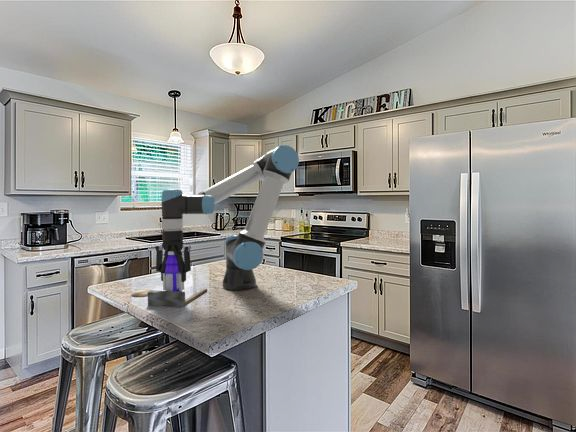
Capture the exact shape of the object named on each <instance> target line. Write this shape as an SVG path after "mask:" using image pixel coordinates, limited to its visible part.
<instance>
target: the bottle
mask: <svg viewBox="0 0 576 432" xmlns="http://www.w3.org/2000/svg"><path fill="white" fill-rule="evenodd" d="M178 254H179V253H178ZM180 273H181V272H180V269H179V265H178V262H177V259H176V257H175V255H174V251H168V257H167V261H166V268H165V278H166V290H165V291H179V274H180ZM179 292H183V290H182V291H179Z"/></svg>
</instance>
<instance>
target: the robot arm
mask: <svg viewBox="0 0 576 432" xmlns="http://www.w3.org/2000/svg"><path fill="white" fill-rule="evenodd" d="M299 163H300V157H299V155H298V152H297V150H296V149H295V148H293V147H292V146H291V145H286V144H281V145H278V146H275V147H274V148H273V149H271V150H269V151H267V152H266V153H265V154H263V155H262V156H261V157H260V158H258V159H256V160H255V161H252V164H251V165H249V166H248V167H245V168H244V169H242V170H240V171H238V172H236V173H233V174H232V175H231V176H229V177H227V178H225V179H223V180H221V181H219V182H217V183H216V184H214V185H212V186H210V187H208V188H206V189H204V190H202V191H200V192H198V193H196V194H183V190H181V189H164V190H162V192H161V225H162V226H161V229H162V230H163V231H162V233H161V235H162V237H161V238H162V243H161V244H159V245H155V247H154V248H155V252H156V256H155V258H156V259H155V271H156V272H159V273H160V280H161V282H162V291H166V278H165V268H166V261H167V257H168V251H174V255H175V257H176V259H177V262H178V265H179V269H180V272H181V273H180V274H179V291H182V292H183V290H185V282H186V281H187V273H188V272H190V271H192V265H191V252H190V251H191V245H186V244H185V243H184V230H183V227H184V226H183V225H184V224H183V223H184V222H183V217H184V216H183V215H209V214H211V215H212V214H214V212H215V205H216V204H218V203H220V202H222V201H224V200H225V199H226V200H227V198H230V197H231V196H233V195H235V194H237V193H239V192H240V191H242V190H244V189H246V188H248V187H250V186H251V185H253V184H255V183H257V182H259V181H261V182H262V183H261V185H260V188H259V191H258V194H257V196H256V198H255V201H254V204H253V206H252V209H251V212H250V214H249V217H248V219H247V222H246V225H245V227H244V229H242V230H241V231H239V232H238V235H228V236H227V237H226V238H225V266H226V268H225V271H224V272H225V273H224V276H223V279H222V288H223V289H226V290H231V291H242V290H243V291H244V290H251V289H254V288H255V287H257V279H256V276H255V273H254V271H253V270H254V269H256V268H257V267H259V266H260V264H262V261H263V260H264V251H263V249H264V248H265V244H266V240H265V235H266V234H265V233H266V231H267V229H268V226H269V224H270V221H271V218H272V216H273V213H274V212H275V208H276V205H277V203H278V200H279V197H280V195H281V192H282V190H283V187H284V185H285V184H287V183H288V182H289V181H290V179H291V176H292V173H293V172H295V171H296V169H297V168H298V166H299ZM163 250H164V251H163ZM182 250H183V252H182ZM163 252H164V253H163ZM178 253H179V254H178Z"/></svg>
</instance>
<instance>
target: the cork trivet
mask: <svg viewBox="0 0 576 432" xmlns="http://www.w3.org/2000/svg"><path fill="white" fill-rule="evenodd" d="M151 290H153V291H155V290H154V289H140V290H135V291H133V292H131V296H132V297H135V298H143V297H148V292H149V291H151Z"/></svg>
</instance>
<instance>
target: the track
mask: <svg viewBox="0 0 576 432" xmlns="http://www.w3.org/2000/svg"><path fill="white" fill-rule="evenodd" d="M150 290H151V291H149V292H148V296H147V306H149V307H151V306H153V307H166V308H167V307H169V308H170V307H172V308H183V307H185V306H186V305H187V304H189V303H191V302H192V301H194V300H196V299H197V298H199V297H200V296H202V295H203V294H205V293H207V292H208V288H203V289H201V290H200V291H197V292H195V293H194V294H192V295H191V296H189V297H187V298H186V291H182V292H179V291H166V290H154V289H150ZM153 290H154V291H153Z"/></svg>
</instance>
